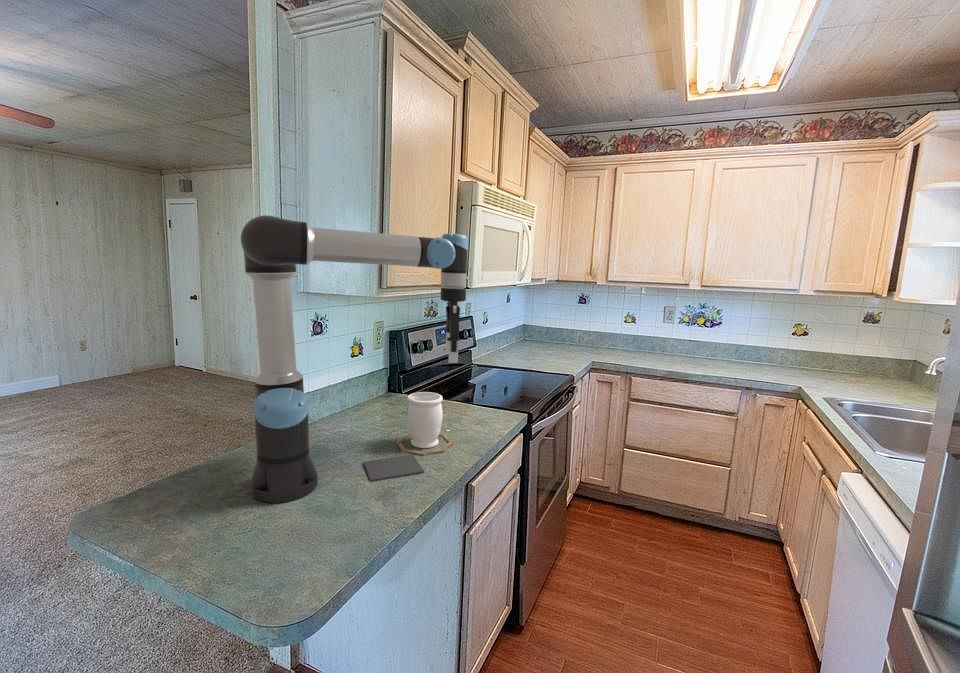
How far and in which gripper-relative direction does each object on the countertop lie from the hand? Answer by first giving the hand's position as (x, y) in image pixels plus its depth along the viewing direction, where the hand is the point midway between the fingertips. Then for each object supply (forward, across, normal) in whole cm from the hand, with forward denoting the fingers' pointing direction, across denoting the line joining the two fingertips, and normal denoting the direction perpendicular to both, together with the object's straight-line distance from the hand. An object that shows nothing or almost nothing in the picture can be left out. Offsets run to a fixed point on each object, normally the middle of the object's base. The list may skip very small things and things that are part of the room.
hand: (451, 357), depth 138 cm
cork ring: (+27, -2, +8) cm, 28 cm away
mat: (+27, -18, +16) cm, 36 cm away
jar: (+27, -2, +8) cm, 28 cm away
